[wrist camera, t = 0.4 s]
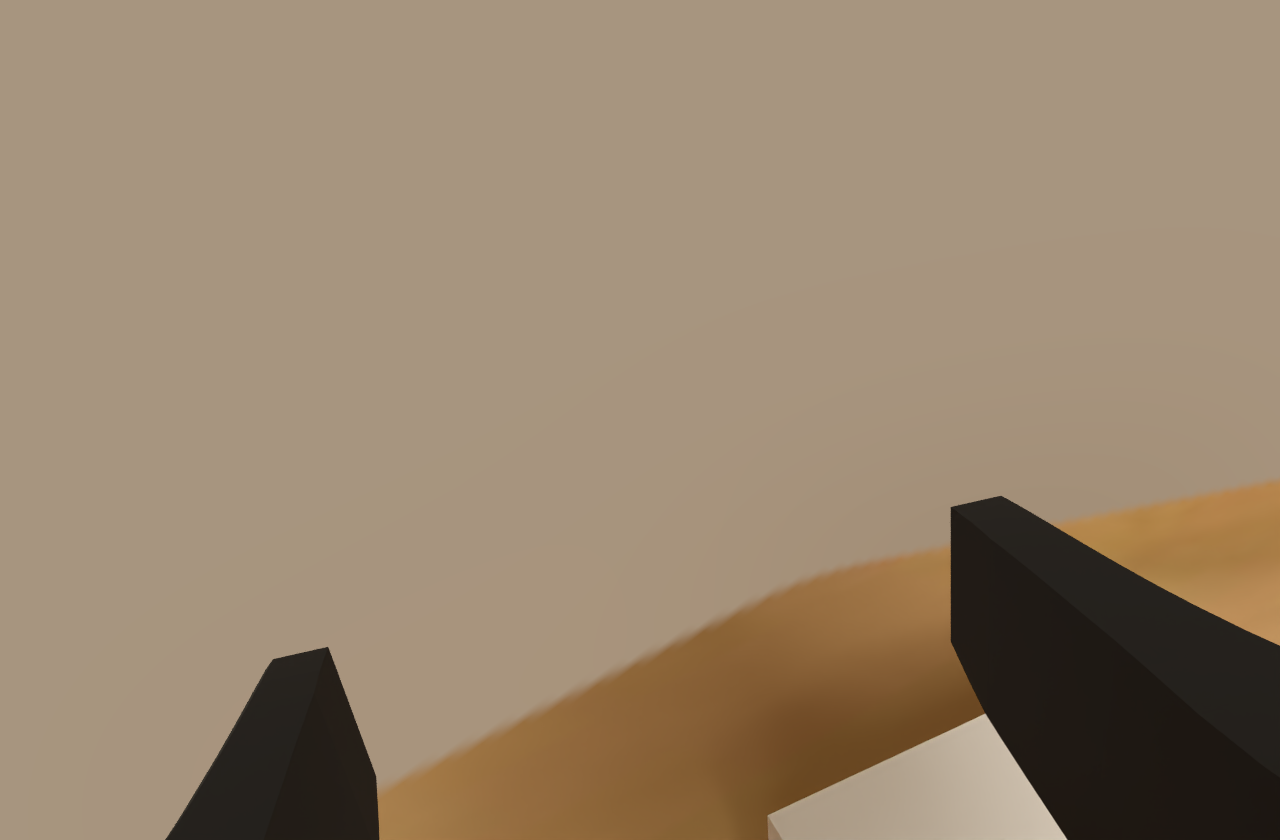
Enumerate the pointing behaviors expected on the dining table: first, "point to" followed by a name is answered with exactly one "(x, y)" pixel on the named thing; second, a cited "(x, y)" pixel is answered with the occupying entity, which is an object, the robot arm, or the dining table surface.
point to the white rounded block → (927, 796)
